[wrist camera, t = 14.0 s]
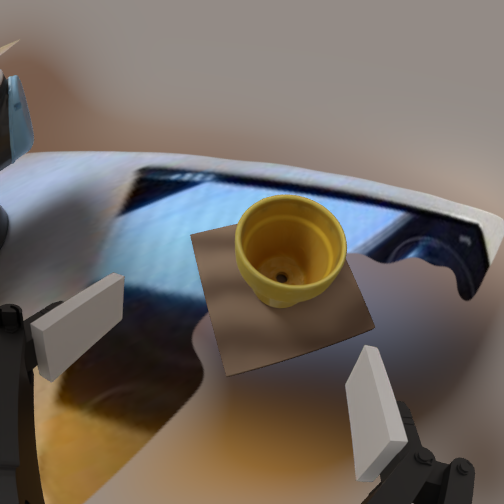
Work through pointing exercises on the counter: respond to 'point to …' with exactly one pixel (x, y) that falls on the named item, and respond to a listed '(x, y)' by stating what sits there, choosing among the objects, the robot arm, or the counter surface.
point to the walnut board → (271, 310)
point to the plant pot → (289, 249)
